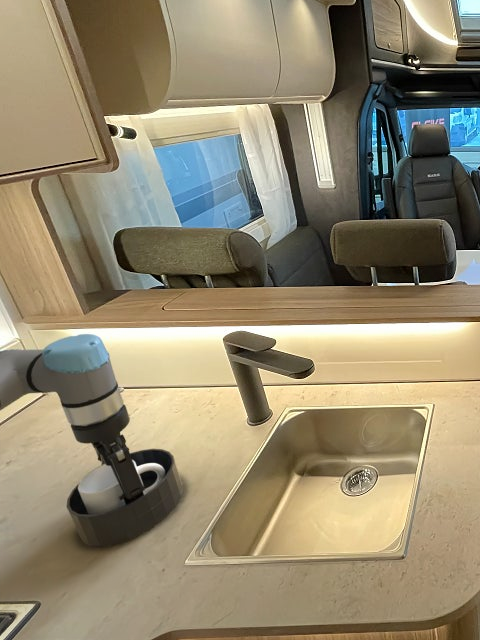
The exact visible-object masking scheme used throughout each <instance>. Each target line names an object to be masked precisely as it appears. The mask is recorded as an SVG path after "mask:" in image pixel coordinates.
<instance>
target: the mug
mask: <svg viewBox="0 0 480 640" xmlns="http://www.w3.org/2000/svg"><path fill="white" fill-rule="evenodd" d="M132 461H133V460H132ZM133 463H134V466H135V468H136V470H137V473H138V475H139V478H140V480H141V477H140V474H141V473H143V472H145V471H150V470H151V471H155V472H156V473H157V476H158V477H157V480H156V482H155V483H154V484H153V485H152V486H150V487H148V488H146V489H145V488H144V489H145V490H144V491H143V493H144V495H145V494H146V493H148V492H149V491H150V490H152V489H153V488H154V487H156V486H157V485H158V484H159V483H160V482H161V481H162V480H163V479H164V478H165V470H164V468H163V467H162V466H161V465H159V464H156V463H148V464H143V465H140V466H138V467H137V466H136V463H135V461H133ZM79 482H80V483H79ZM79 482H78V484H79V485H78V484H77V485H78V491H79V493H80V495H81V498H82V500H83V502H84V505H85V507H86V509H87V511H88V514H89V515H93V514H100V513H105V512H108V511H111V510H115V509H118V508H120V507H122V506H124V505H126V504H125V501H124V499H122V500H120V499H119V497H120V496H122V494H123V492H122V489H121V487H120V485H119V483H118V481H117V479H116V477H115V475H114V472H113V470H112V468H111V466H107V465H105V464H103V465H102V464H101V465H99V466H97V467H95V468H94V469H92V470H91V471H90V472H88V473H87V474H85V476H83V478H81V480H80V481H79ZM141 483H142V485H143V482H142V480H141ZM143 486H144V485H143Z"/></svg>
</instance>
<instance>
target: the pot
mask: <svg viewBox="0 0 480 640" xmlns="http://www.w3.org/2000/svg"><path fill="white" fill-rule="evenodd" d="M129 453H130V456H131V458H132V460H133V461H135V463H136V466H137V467H138V466H140V465H143V464H148V463H156V464H159V465H161V466H162V467H163V468H164V470H165V478H164V479H163V480H162V481H161V482H160V483H159V484H158V485H157V486H156V487H154V488H153V489H152V490H150V491H149V492H148V493H146V494H145V495H143V496H142V497H140V498H138V499H136V500H135V501H133V502H131V503H129V504H127V505H124V506H122V507H120V508H118V509H115V510H111V511H108V512H105V513H100V514H93V515H89V514H88V511H87V509H86V507H85V505H84V502H83V500H82V498H81V495H80V493H79V491H78V485H79V483H80V481H79V482H78V483H77V485H76V486H75V487H74V488H73V489H72V490H71V492H70V493H69V495H68V497H67V499H66V509H67V511H68V513H69V516H70V518H71V520H72V522H73V525H74V527H75V529H76V531H77V533H78V536H79V538H80V540H81V541H82V543H83V544H85V545H86V546H89V547H93V548H105V547H111V546H117V545H119V544H123V543H125V542H128V541H131V540H133V539H135V538H138V537H140V536H141V535H142V534H145V533H146V532H148V531H150V530H151V529H153V528H154V527H156V526H157V525H158V524H159V523H161V522H162V521H163V520H164V519H166V518H167V517H168V516H169V515H170V513H172V512H173V510H174V509H175V508H176V507H177V505H178V504H179V502H180V500H181V498H182V496H183V493H184V486H183V482H182V478H181V475H180V472H179V469H178V467H177V463H176V460H175V457H174V455H173V454H172V453H171V452H170V451H168V450H165V449H162V448H148V449H141V450H136V451H133V452H129ZM140 477H141V480H142V482H143V485H144V488H145V489H146V488H148V487H150V486H152V485H153V484H154V483H155V482H156V480H157V477H158V476H157V473H156V472H155V471H151V470H150V471H145V472H143V473H141V474H140Z"/></svg>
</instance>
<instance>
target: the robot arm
mask: <svg viewBox="0 0 480 640" xmlns="http://www.w3.org/2000/svg"><path fill="white" fill-rule="evenodd" d="M108 351H109V350H107V348H106V346H105V343H104V342H103V340H102V338H101V337H99V336H98V335H96V334H91V333H80V334H77V335H70V336H66V337H63V338H59V339H57V340H55V341H53V342H50V343H49V344H48V345H46V346H45V347H44V348H43V349H18V348H17V349H13V348H11V349H5V350H0V411H2V410H4V409H6V407H7V408H8V406H10V405H12V404H13V403H15V402H16V401H18V400H19V399H21V398H23V397H24V396H26V395H30V394H47V393H56V394H57V396H58V398H59V401H60V403H61V407H62V409H63V412H64V415H65V417H66V420H67V422H68V424H69V425H70V428H71V431H72V433H73V436H74V438H75V440H76V441H77V442H78V443H80V444H84V445H85V444H87V445H88V444H91V445H92V447H93V449H94V450H95V452H96V456H97V458H96V459H97V461H99V462H101V465H103V464H105V465H107V466H111V468H112V470H113V472H114V475H115V477H116V479H117V481H118V483H119V485H120V487H121V489H122V492H123V494H122V496H120V497H119V499H120V500H122V499H124V501H125V504H126V505H127V504H129V503H131V502H133V501H135V500H136V499H138V498H140V497H142V496H143V495H144V493H143V491H144V490H145V489H144V486H143V485H142V483H141V480H140V478H139V475H138V473H137V470H136V468H135V466H134V463H133V461H132V458H131V456H130V453H131V452H130V448H129V447H128V446H127V444H126V443H127V440H126V438H125V435H124V433H123V434H121V432H122V431H123V430H124V429H126V428H127V427H128V425H129V424H130V420H131V418H130V415H129V412H128V409H127V406H126V404H124V403H125V402H124V399H123V396H122V394H121V393H123V392H125V388H124V387H123V386H121V387H120V386H119V383H118V381H117V378H116V375H115V371H114V369H113V365H112V362H111V359H110V358H111V356H110V353H109V352H108Z"/></svg>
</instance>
